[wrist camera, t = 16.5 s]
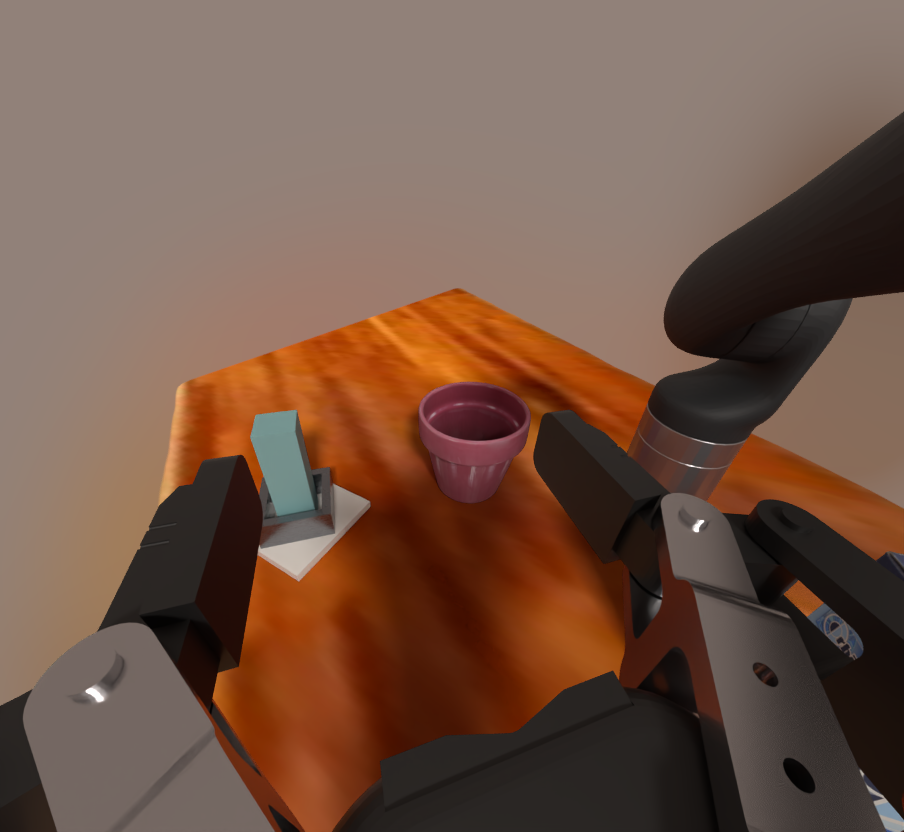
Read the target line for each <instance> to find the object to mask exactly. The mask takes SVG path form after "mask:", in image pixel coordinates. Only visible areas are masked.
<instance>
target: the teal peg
mask: <svg viewBox="0 0 904 832" xmlns="http://www.w3.org/2000/svg"><path fill="white" fill-rule="evenodd" d="M250 438H251V441H252V444H253V446H254V449H255V452H256V455H257V458H258V461H259V464H260V467H261V470H262V472H263V475H264V478H265V481H266V484H267V487H268V490H269V493H270V496H271V499H272V501H273V504H274V507H275V510H276V513H277V516H278V517H281V516H286V515H291V514H297V513H302V512H307V511H313V510H318V497H317V493H316V488H315V484H314V480H313V476H312V472H311V467H310V463H309V459H308V455H307V451H306V447H305V442H304V438H303V434H302V430H301V426H300V421H299V417H298V413H297V410H292V411H284V412H275V413H267V414H259V415H256V416H255V420H254V424H253V429H252V433H251V437H250Z"/></svg>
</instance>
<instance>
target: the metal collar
mask: <svg viewBox="0 0 904 832" xmlns="http://www.w3.org/2000/svg"><path fill="white" fill-rule="evenodd" d="M311 472H312V476H313V480H314V484H315V488H316V493H317V494H322V509H318V510H313V511H307V512H302V513H297V514H291V515H286V516H281V517H275V512H276V510H275V507H274V504H273V501H272V499H271V496H270V493H269V490H268V487H267V484H266V481H265V478H264V477H263V478H262V483H261V488H260V493H259V497H260V500H261V503H262V509H263V525H262V531H261V537H260V543H259V545H260V548H261V549H263V548H268V547H273V546H278V545H282V544H287V543H292V542H297V541H302V540H306V539H311V538H316V537H321V536H326V535H331V534H335V514H334V487H333V481H332V476H331V471H330V467H327V468H320V469H314V470H311Z"/></svg>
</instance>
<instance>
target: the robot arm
mask: <svg viewBox="0 0 904 832" xmlns="http://www.w3.org/2000/svg"><path fill="white" fill-rule="evenodd" d="M899 292H904V112H903V113H901V114H900V115H899V116H897V117H896V118H895V119H893V120H892V121H891V122H889V123H888V124H887V125H885V126H884V127H882V128H881V129H880V130H878V131H877V132H876V133H875V134H873V135H872V136H870V137H869V138H868V139H866V140H865V141H864V142H862V143H861V144H860V145H858V146H857V147H856V148H854V149H853V150H851V151H850V152H849V153H847V154H846V155H845V156H843V157H842V158H841V159H839V160H838V161H837V162H835V163H834V164H833V165H831V166H830V167H829V168H827V169H826V170H825V171H823V172H822V173H821V174H819V175H818V176H817V177H815V178H814V179H812V180H811V181H810V182H808V183H807V184H806V185H804V186H803V187H801V188H800V189H798V190H797V191H796V192H794V193H793V194H791V195H790V196H788V197H787V198H785V199H784V200H782V201H781V202H779V203H778V204H776V205H775V206H773V207H772V208H770V209H769V210H767V211H766V212H764V213H762V214H761V215H759V216H758V217H756V218H754V219H753V220H751V221H750V222H748V223H747V224H745V225H744V226H742V227H740V228H739V229H737V230H736V231H734V232H732V233H731V234H729V235H728V236H726V237H725V238H723V239H722V240H720V241H718V242H717V243H715V244H714V245H713V246H711V247H710V248H708V249H707V250H706V251H705V252H703V253H702V254H701V255H700V256H699V257H698V258H697V259H696V260H695V261H694V262H693V263H692V264H691V265H690V266H689V267H688V268H687V269H686V270H685V272H684V273H683V274H682V275H681V277H680V278H679V280H678V281H677V283H676V284H675V286H674V287H673V289H672V291H671V294H670V296H669V298H668V301H667V304H666V307H665V311H664V327H665V331H666V334H667V336H668V338H669V339H670V341H671V342H672V343H673V344H674V345H675V346H676V347H677V348H679V349H681V350H683V351H685V352H687V353H690V354H693V355H698V356H703V357H710V358H718V359H719V360H718V361H716V362H715V363H712V364H710V365H707V366H705V367H702V368H699V369H695V370H692V371H687V372H682V373H678V374H673V375H669V376H667V377H665V378H663V379H662V380H660V381H659V382H658V383H657V384H656V386H655V387H654V389H653V391H652V394H651V396H650V399H649V401H648V404H647V406H646V408H645V411H644V413H643V415H642V418H641V420H640V423H639V425H638V428H637V430H636V432H635V435H634V437H633V439H632V442H631V444H630V446H629V449H628V451H627V453H626V452H625V451H624V450H623V449H622V448H621V447H618V446H617V444H616V443H615V442H614V441H613V440H612V439H611V438H610V437H609V436H608V435H606V434H605V433H604V432H602V431H600V430H598V429H597V428H595V427H593V426H591V425H589V424H586V423H585V422H584V421H583V420H582V419H581V418H580V417H579V416H578V415H577V414H576V413H574V412H573V411H571V410H564V411H557V412H550V413H546V414H544V415H543V417H542V420H541V424H540V428H539V432H538V436H537V441H536V445H535V449H534V456H533V458H534V465H535V468H536V470H537V472H538V474H539V475H540V476H541V478H542V479H543V481H544V482H545V483H546V485H547V486H548V488H549V489H550V490H551V492H552V493H553V494H554V496H555V497H556V499H557V500H558V501H559V503H560V504H561V506H562V507H563V508H564V510H565V511H566V512H567V514H568V515H569V517H570V518H571V519H572V521H573V522H574V523H575V525H576V526H577V528H578V529H579V530H580V532H581V533H582V535H583V536H584V537H585V539H586V540H587V541H588V543H589V544H590V546H591V547H592V548H593V550H594V551H595V553H596V554H597V555H598V557H599V558H600V559H601V561H602V562H603V564H606V563H609V562H612V561H616V560H619V559H621V560H622V562H623V563H624V564H625V567H624V569H623V573H622V580H623V602H624V623H625V652H624V657H623V660H622V663H621V668H620V675H619V680H618V678H617V677H616V675H615V673H614V672H613V671H611V672H608V673H605V674H603V675H600V676H598V677H595V678H593V679H590V680H587V681H585V682H582V683H580V684H577V685H575V686H572V687H569V688H567V689H564V690H563V691H562V692H561V693H560V694H558V695H557V696H556V697H555V698H554V699H553V700H552V701H551V702H550V703H548V704H547V705H546V706H545V707H544V708H543V709H542V710H541V711H540V712H538V713H537V714H536V715H535V716H534V717H533V718H532V719H531V720H529V721H528V722H527V723H526V724H525V725H524V726H523V727H522V728H521V729H519V730H518V731H516V732H513V733H505V734H475V735H446V736H443V737H441V738H438V739H436V740H433V741H431V742H428V743H425V744H423V745H420V746H418V747H415V748H413V749H410V750H407V751H405V752H402V753H400V754H397V755H395V756H392V757H389V758H387V759H384V760H382V761H380V765H381V775H382V777H381V778H380V779H379V780H378V781H377V782H375V783H374V784H373V785H372V786H371V787H369V788H368V789H367V790H366V791H365V792H364V793H363V794H362V795H361V796H360V797H359V798H358V799H357V800H356V801H355V802H354V804H353V805H352V806H351V807H350V808H349V810H348V811H347V812H346V813H345V815H344V816H343V817H342V818H341V820H340V821H339V822H338V824H337V825H336V826H335V828H334V830H333V831H332V832H887V831H886V829H885V827H884V824H883V822H882V820H881V818H880V815H879V813H878V811H877V809H876V806H875V804H874V802H873V799H872V797H871V795H870V793H869V790H868V788H867V786H866V784H865V781H864V779H863V777H862V774H861V772H860V770H861V771H862V772H863V773H864V774H865V775H866V777H867V778H868V779H869V780H870V781H871V782H872V784H873V785H874V786H875V787H876V788H877V789H878V791H879V792H880V793H881V794H882V795H883V796H884V798H885V799H886V800H887V801H888V802H889V803H890V805H891V806H892V807H893V808H894V809H895V810H896V811H897V813H898V814H899V815H900V816H901V817H902V818H903V820H904V581H902V580H901V579H900V578H898V577H897V576H896V575H894V574H893V573H891V572H890V571H889V570H887V569H886V568H885V567H883V566H882V565H881V564H879V563H878V562H876V561H875V560H874V559H872V558H871V557H870V556H868V555H867V554H866V553H864V552H863V551H861V550H860V549H859V548H857V547H856V546H855V545H853V544H852V543H851V542H849V541H848V540H846V539H845V538H844V537H842V536H841V535H840V534H838V533H837V532H836V531H834V530H833V529H831V528H830V527H829V526H827V525H826V524H825V523H823V522H822V521H820V520H819V519H818V518H816V517H815V516H813V515H812V514H810V513H809V512H807V511H805V510H803V509H801V508H799V507H797V506H795V505H792V504H789V503H786V502H783V501H779V500H763V501H760V502H759V503H758V504H757V505H756V507H755V508H754V509H753V511H752V512H751V513H750V514H749V515H742V514H729V513H721V512H720V511H719V510H718V509H717V508H715V507H714V506H712V505H711V504H709V503H708V502H706V501H707V499H708V498H709V496H710V495H711V493H712V492H713V490H714V489H715V487H716V486H717V484H718V483H719V481H720V480H721V478H722V477H723V475H724V473H725V472H726V470H727V469H728V467H729V466H730V464H731V463H732V461H733V459H734V458H735V456H736V455H737V453H738V452H739V450H740V449H741V447H742V446H743V444H744V443H745V441H746V440H747V438H748V437H749V435H750V434H751V432H752V431H753V430H754V428H755V427H756V426H758V425H760V424H761V423H763V422H764V421H766V420H767V419H769V418H770V417H771V416H772V415H773V414H774V413H775V412H776V411H777V410H778V408H779V407H780V406H781V404H782V403H783V401H784V400H785V399H786V398H787V396H788V395H789V394H790V393H791V391H792V390H793V389H794V388H795V386H796V385H797V384H798V382H799V381H800V380H801V378H802V377H803V376H804V374H805V373H806V372H807V371H808V369H809V368H810V367H811V366H812V365H813V363H814V362H815V361H816V359H817V358H818V357H819V356H820V354H821V353H822V352H823V350H824V349H825V348H826V346H827V345H828V343H829V342H830V341H831V339H832V338H833V336H834V335H835V333H836V332H837V330H838V328H839V327H840V325H841V324H842V322H843V320H844V318H845V316H846V314H847V311H848V309H849V307H850V305H851V302H852V298H857V297H865V296H873V295H883V294H891V293H899ZM262 525H263V509H262V503H261V500H260V497H259V494H258V491H257V489H256V486H255V483H254V480H253V478H252V475H251V472H250V470H249V467H248V464H247V462H246V459H245V458H244V456H242V455H236V456H229V457H222V458H215V459H208V460H204V461H203V462H202V464H201V466H200V468H199V470H198V473H197V475H196V478H195V480H194V482H193V484H191V485H184V486H179V487H178V488H177V489H176V490H175V491H174V492H173V493H172V494H171V495H170V496H169V497H168V498H167V499H166V500H165V501H164V502H163V503H161V504H160V505H159V507H158V509H157V511H156V514H155V516H154V517H153V520H152V522H151V524H150V526H149V531H147V532H146V534H145V536H144V538H143V540H142V542H141V544H140V546H141V548H140V549H139V550H137V552H136V554H135V556H134V558H133V560H132V562H131V564H130V567H129V569H128V571H127V573H126V575H125V577H124V579H123V581H122V583H121V585H120V587H119V589H118V591H117V593H116V595H115V597H114V599H113V601H112V604H111V605H110V608H109V609H108V612H107V614H106V616H105V618H104V620H103V622H102V624H101V626H100V627H99V629H98V631H97V632H96V633H94V634H92V635H90V636H88V637H87V638H85V639H83V640H82V641H80V642H79V643H77V644H76V645H75V646H73V647H72V648H70V649H69V650H68V651H66V652H65V653H64V654H63V655H62V656H61V657H59V658H58V659H57V660H56V661H55V662H54V663H53V664H52V665H51V666H50V667H49V668H48V670H47V671H46V672H45V673H44V674H43V675H42V677H41V678H40V679H39V681H38V682H37V684H36V685H35V687H34V688H33V689H32V690H30V691H28V692H26V693H25V694H23V695H21V696H19V697H17V698H15V699H13V700H11V701H9V702H7V703H5V704H3V705H1V706H0V832H305V831H304V829H303V828H302V826H301V825H300V823H299V822H298V820H297V819H296V818H295V816H294V815H293V813H292V812H291V810H290V809H289V808H288V806H287V805H286V804H285V802H284V801H283V799H282V798H281V797H280V796H279V794H278V793H277V792H276V790H275V789H274V788H273V787H272V785H271V784H270V783H269V781H268V780H267V778H266V777H265V775H264V774H263V773H262V771H261V770H260V768H259V767H258V765H257V764H256V762H255V761H254V759H253V758H252V756H251V755H250V753H249V752H248V750H247V749H246V747H245V746H244V744H243V743H242V741H241V740H240V739H239V737H238V736H237V734H236V733H235V731H234V730H233V728H232V727H231V725H230V724H229V722H228V721H227V719H226V718H225V716H224V715H223V713H222V712H221V710H220V709H219V707H218V706H217V704H216V703H215V701H214V700H213V699H212V697H213V693H214V688H215V683H216V678H217V673H218V672H222V671H225V670H229V669H232V668H236V667H239V662H240V656H241V650H242V644H243V638H244V632H245V626H246V620H247V614H248V608H249V602H250V597H251V591H252V585H253V579H254V573H255V567H256V561H257V555H258V549H259V543H260V537H261V531H262ZM798 580H799V581H800V582H802V583H803V584H804V585H805V586H806V587H807V588H808V589H809V590H810V591H812V592H813V593H814V594H815V595H816V596H817V597H818V598H819V599H820V600H822V601H823V602H824V603H825V604H826V605H827V606H828V607H829V608H830V609H832V610H833V611H834V612H835V613H836V614H837V615H838V616H839V617H840V618H842V619H843V620H844V621H845V622H846V623H847V624H848V625H849V626H850V627H851V628H852V629H853V630H854V631H855V632H856V633H857V634H858V636H859V637H860V639H861V641H862V644H863V653H862V655H861V656H860V657H858V658H857V659H855V660H854V659H852V658H850V657H849V656H847V655H846V654H845V653H844V652H842V651H841V650H840V649H839V648H838V647H837V646H836V645H835V644H834V643H833V642H832V641H831V640H830V639H829V638H828V637H827V636H826V635H825V634H824V633H823V632H822V631H821V630H820V629H819V628H818V627H817V626H815V625H814V624H813V623H812V622H811V621H810V620H809V619H808V618H807V617H806V616H805V615H804V614H803V613H802V612H801V611H800V610H799V609H798V608H797V607H796V606H795V605H794V604H793V603H792V602H791V601H790V600H789V599H788V598H787V597H785V596H784V595H783V594H784V593H785V592H786V591H787V590H788V589H789V588H791V587H792V586H793V585H794V584H795V583H796V582H797V581H798ZM858 767H859V768H860V770H859V768H858ZM901 832H904V830H902V831H901Z"/></svg>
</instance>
